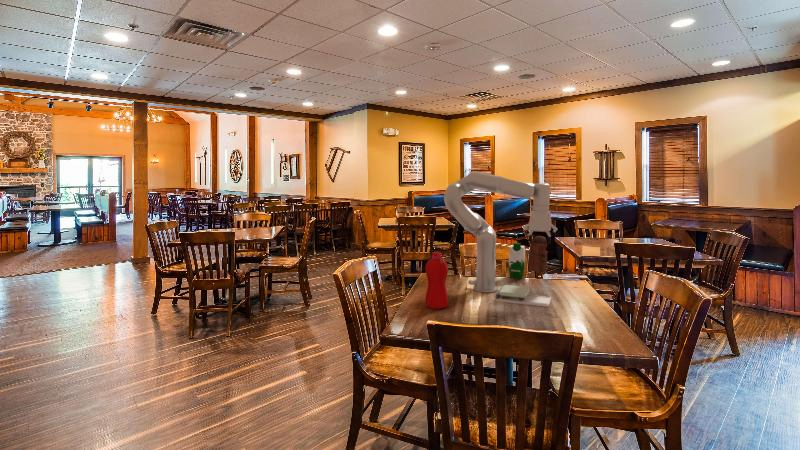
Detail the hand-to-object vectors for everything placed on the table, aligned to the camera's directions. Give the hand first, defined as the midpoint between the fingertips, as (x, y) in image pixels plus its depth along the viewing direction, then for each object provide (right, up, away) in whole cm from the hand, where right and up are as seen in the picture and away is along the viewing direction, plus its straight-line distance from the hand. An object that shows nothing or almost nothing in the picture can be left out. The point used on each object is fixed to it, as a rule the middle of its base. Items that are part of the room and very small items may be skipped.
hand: (539, 243), depth 222 cm
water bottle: (-53, -28, -20) cm, 63 cm away
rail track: (-11, -26, -11) cm, 31 cm away
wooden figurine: (0, -14, +2) cm, 14 cm away
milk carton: (-2, -21, +37) cm, 42 cm away
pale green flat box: (-15, -25, -9) cm, 30 cm away
